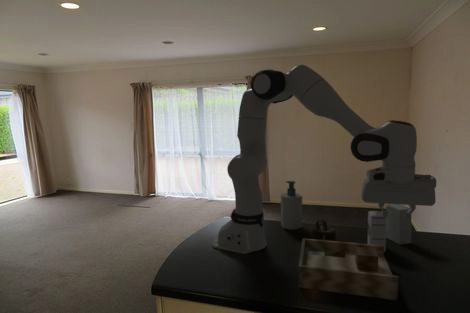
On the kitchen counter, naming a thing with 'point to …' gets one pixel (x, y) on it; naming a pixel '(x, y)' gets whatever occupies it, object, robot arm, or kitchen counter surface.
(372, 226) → the syrup box
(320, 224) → the kendama
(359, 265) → the walnut block
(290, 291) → the kitchen counter surface
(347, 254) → the tray
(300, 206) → the soap bottle
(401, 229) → the skincare box
